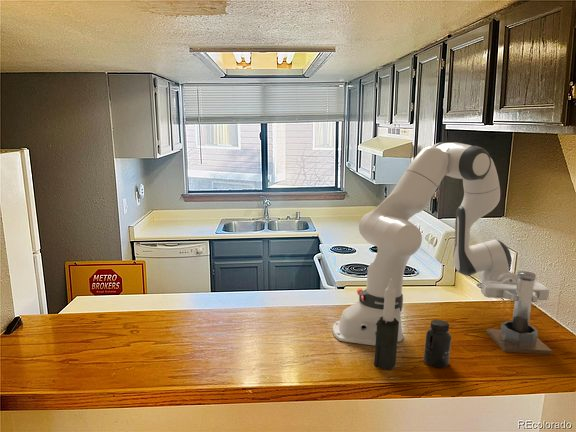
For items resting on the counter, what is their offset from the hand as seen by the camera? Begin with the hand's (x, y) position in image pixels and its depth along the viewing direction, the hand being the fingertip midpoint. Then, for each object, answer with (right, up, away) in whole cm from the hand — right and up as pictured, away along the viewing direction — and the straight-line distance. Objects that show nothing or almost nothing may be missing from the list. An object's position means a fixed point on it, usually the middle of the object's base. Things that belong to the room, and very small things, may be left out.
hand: (525, 299), depth 140 cm
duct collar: (-1, -14, +3) cm, 15 cm away
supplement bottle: (-31, -16, -11) cm, 37 cm away
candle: (-46, -16, -14) cm, 51 cm away
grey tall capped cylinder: (0, -10, +3) cm, 10 cm away
